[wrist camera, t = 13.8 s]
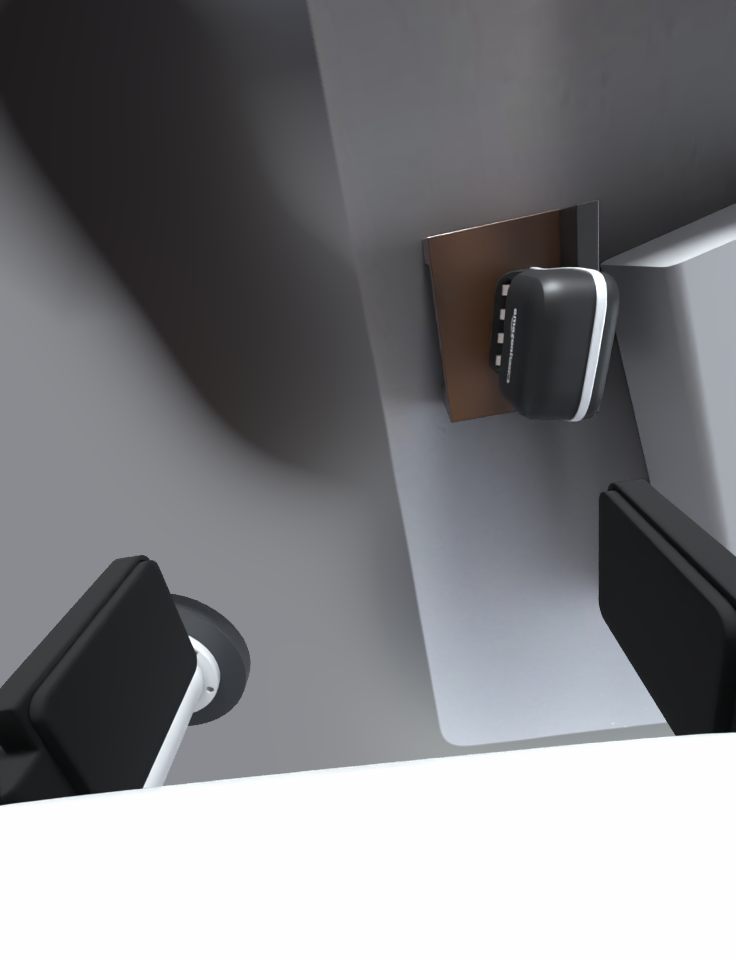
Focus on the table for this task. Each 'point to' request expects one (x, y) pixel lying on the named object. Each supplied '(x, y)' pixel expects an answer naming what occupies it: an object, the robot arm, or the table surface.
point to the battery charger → (553, 340)
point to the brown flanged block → (471, 288)
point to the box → (684, 364)
